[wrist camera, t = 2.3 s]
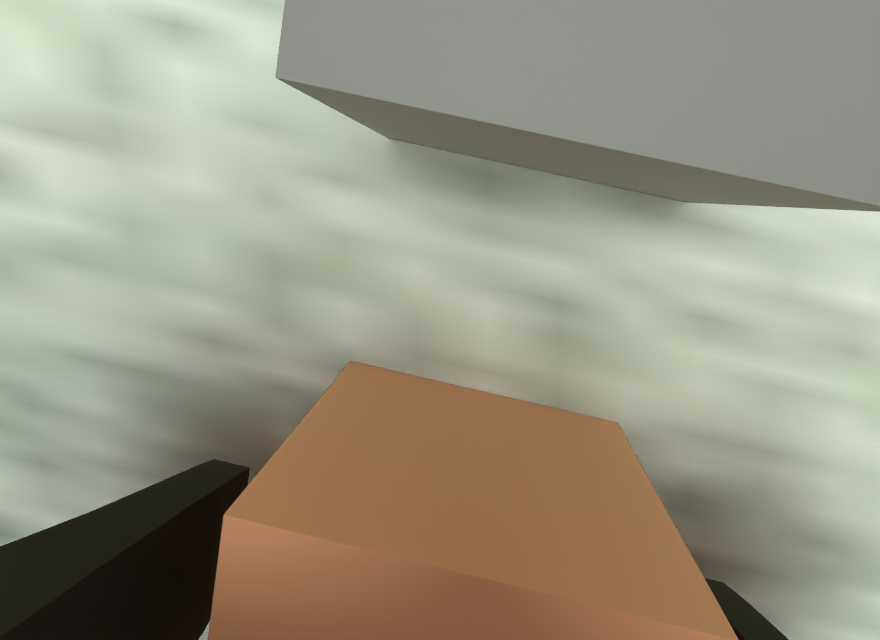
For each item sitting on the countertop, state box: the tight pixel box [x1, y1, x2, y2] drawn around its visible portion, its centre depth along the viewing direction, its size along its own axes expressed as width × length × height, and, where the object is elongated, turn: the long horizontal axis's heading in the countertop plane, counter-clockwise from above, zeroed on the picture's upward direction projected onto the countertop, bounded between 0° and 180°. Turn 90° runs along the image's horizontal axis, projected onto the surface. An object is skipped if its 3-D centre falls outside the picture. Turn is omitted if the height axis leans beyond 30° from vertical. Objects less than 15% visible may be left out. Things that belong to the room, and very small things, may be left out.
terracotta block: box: [208, 361, 738, 640], centre depth 8 cm, size 5×5×5 cm
